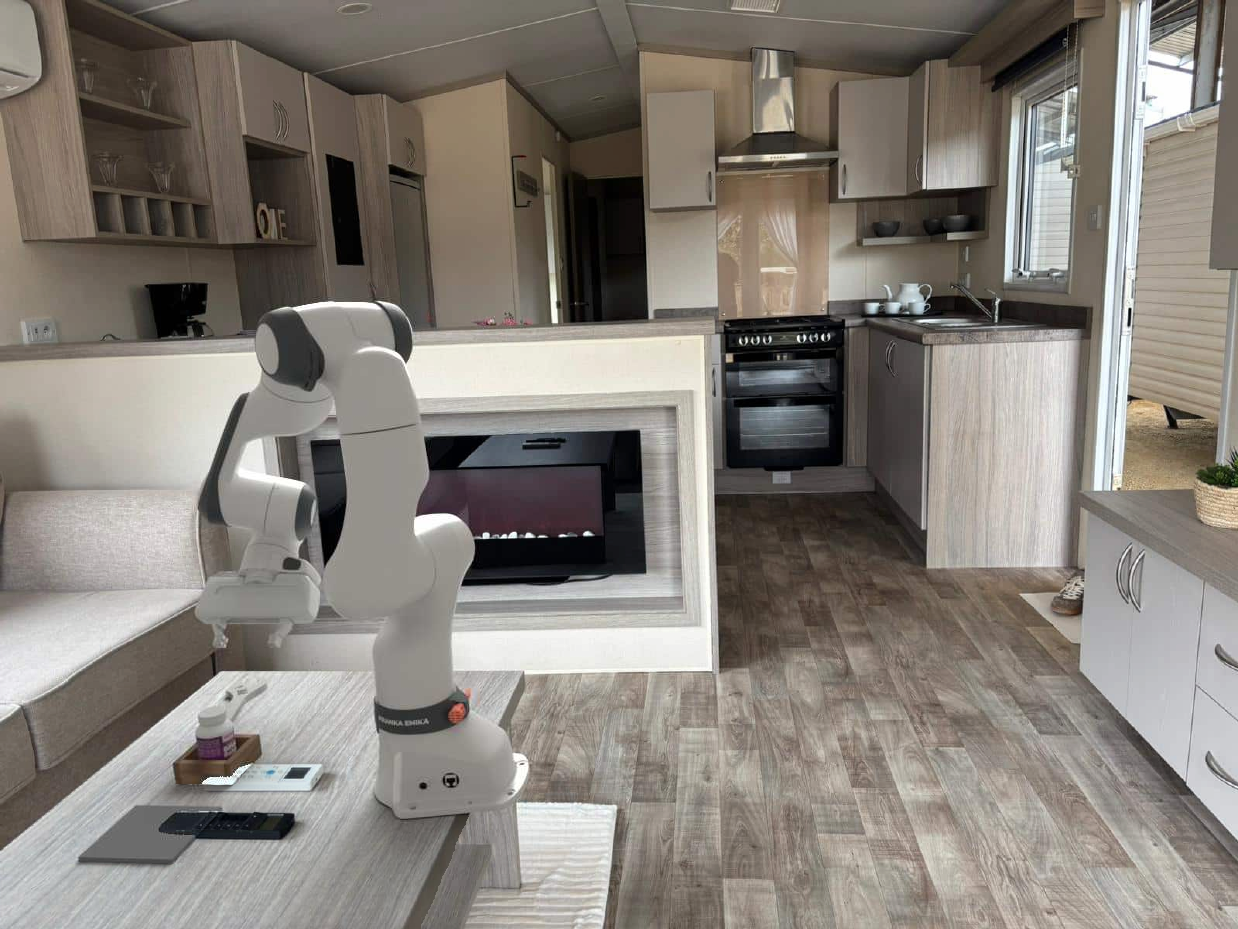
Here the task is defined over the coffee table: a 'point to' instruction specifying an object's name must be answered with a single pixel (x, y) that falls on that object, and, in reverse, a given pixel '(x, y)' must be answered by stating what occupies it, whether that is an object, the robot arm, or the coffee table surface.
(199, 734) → the pill bottle
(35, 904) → the coffee table surface
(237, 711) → the adjustable wrench
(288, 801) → the coffee table surface
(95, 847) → the charcoal mat
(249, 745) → the walnut collar
